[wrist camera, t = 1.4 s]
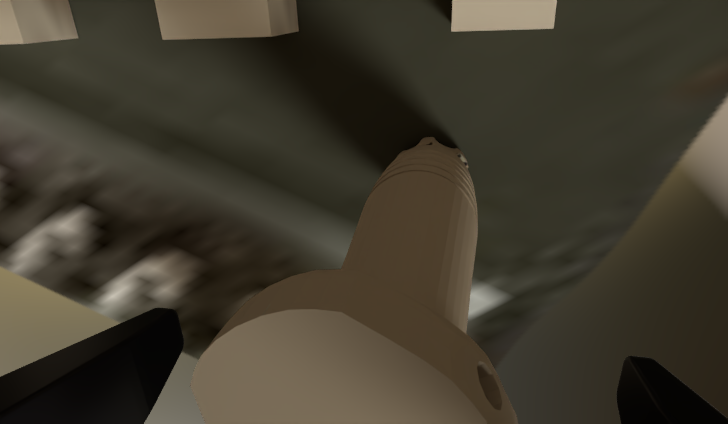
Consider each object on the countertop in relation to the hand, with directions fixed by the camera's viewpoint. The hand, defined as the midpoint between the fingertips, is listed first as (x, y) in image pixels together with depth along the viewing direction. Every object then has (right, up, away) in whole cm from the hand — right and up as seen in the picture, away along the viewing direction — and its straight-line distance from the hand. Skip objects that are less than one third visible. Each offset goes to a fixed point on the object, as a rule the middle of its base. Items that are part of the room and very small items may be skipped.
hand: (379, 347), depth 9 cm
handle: (+3, +5, +12) cm, 13 cm away
